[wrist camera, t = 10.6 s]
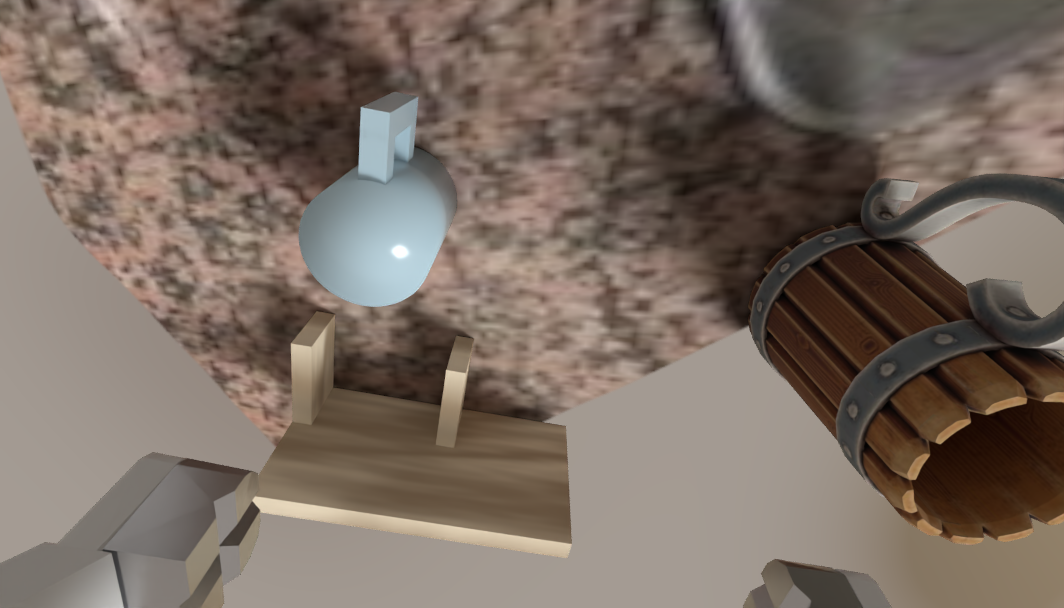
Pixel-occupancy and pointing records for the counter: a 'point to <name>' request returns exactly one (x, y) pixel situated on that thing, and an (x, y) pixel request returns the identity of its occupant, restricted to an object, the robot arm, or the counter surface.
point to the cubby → (415, 460)
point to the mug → (925, 361)
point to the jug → (380, 212)
